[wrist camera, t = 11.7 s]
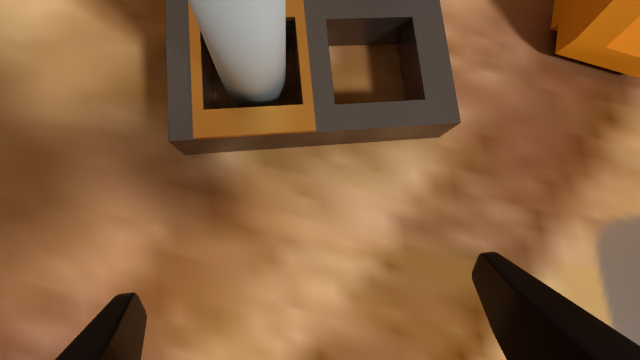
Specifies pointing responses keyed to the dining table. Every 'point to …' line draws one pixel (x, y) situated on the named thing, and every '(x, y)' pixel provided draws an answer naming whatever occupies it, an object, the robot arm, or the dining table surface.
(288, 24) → the grey boxy holed piece
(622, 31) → the bracket
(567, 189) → the dining table surface
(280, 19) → the peg
